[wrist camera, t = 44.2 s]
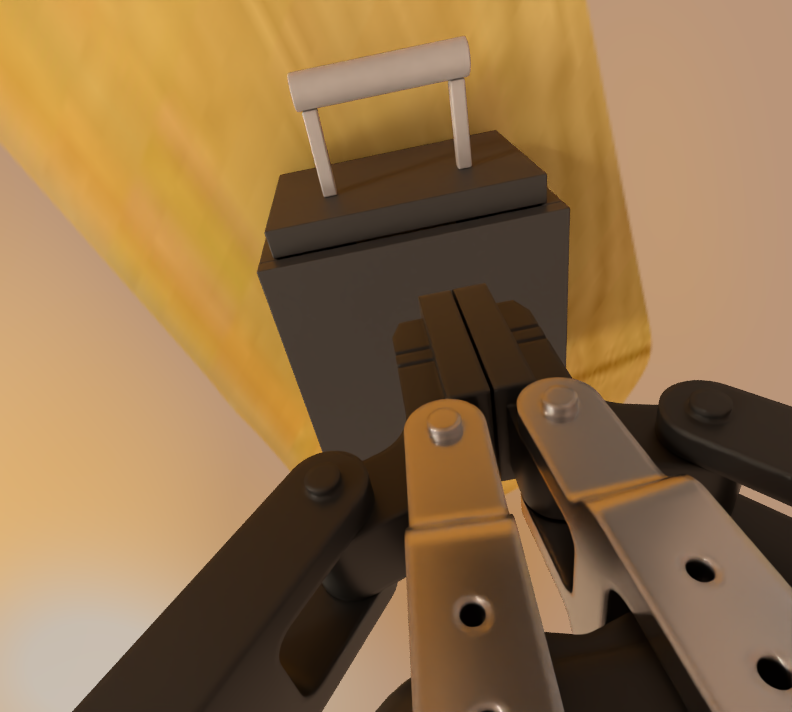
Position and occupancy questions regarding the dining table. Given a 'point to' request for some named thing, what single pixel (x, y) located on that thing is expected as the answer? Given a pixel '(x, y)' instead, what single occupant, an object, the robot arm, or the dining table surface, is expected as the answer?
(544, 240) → the dark drawer cabinet
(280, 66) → the dining table surface
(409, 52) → the drawer with bar handle
